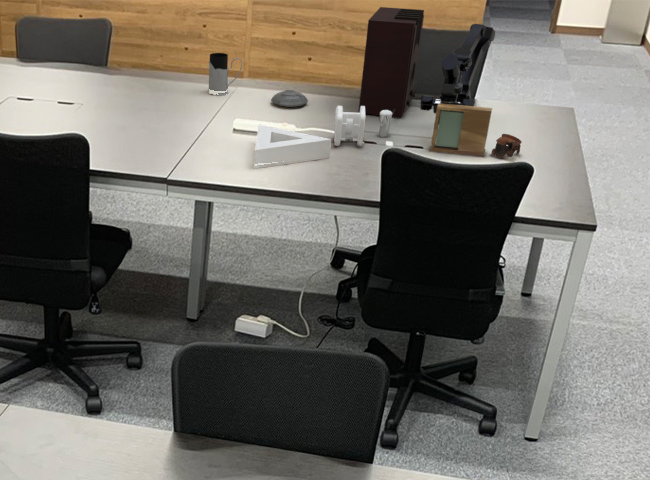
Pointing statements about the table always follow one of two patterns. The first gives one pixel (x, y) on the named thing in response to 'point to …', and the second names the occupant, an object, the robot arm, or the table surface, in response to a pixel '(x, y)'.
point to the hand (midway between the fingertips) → (442, 126)
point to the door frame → (466, 130)
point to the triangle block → (288, 147)
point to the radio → (391, 60)
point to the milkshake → (385, 122)
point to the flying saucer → (289, 98)
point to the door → (449, 128)
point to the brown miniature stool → (503, 149)
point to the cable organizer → (349, 125)
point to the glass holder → (219, 72)
